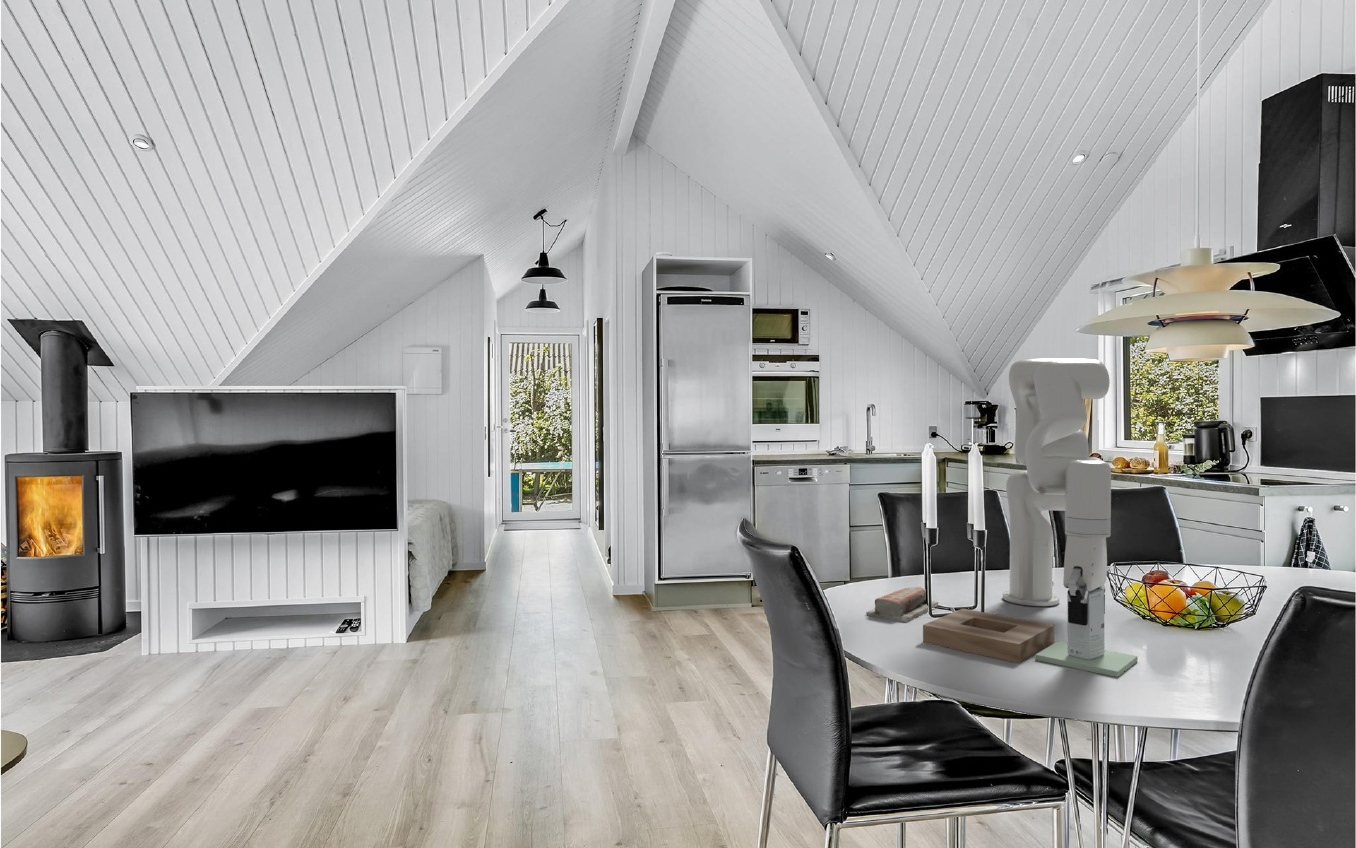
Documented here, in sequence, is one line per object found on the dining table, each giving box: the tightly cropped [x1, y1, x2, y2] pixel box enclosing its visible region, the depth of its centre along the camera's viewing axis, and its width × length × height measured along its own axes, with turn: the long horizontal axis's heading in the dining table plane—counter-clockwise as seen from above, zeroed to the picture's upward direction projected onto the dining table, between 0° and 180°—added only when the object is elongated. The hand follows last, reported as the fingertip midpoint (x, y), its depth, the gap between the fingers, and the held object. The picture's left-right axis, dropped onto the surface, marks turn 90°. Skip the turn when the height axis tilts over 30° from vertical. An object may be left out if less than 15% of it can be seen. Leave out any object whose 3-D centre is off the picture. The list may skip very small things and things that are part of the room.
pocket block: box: [922, 608, 1055, 664], centre depth 162 cm, size 18×19×4 cm
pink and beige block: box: [865, 587, 939, 623], centre depth 187 cm, size 18×5×10 cm
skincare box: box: [1066, 589, 1106, 660], centre depth 151 cm, size 6×4×12 cm
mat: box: [1034, 640, 1139, 678], centre depth 150 cm, size 12×14×1 cm
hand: (1086, 618), depth 150 cm, fingers open, 9 cm apart
